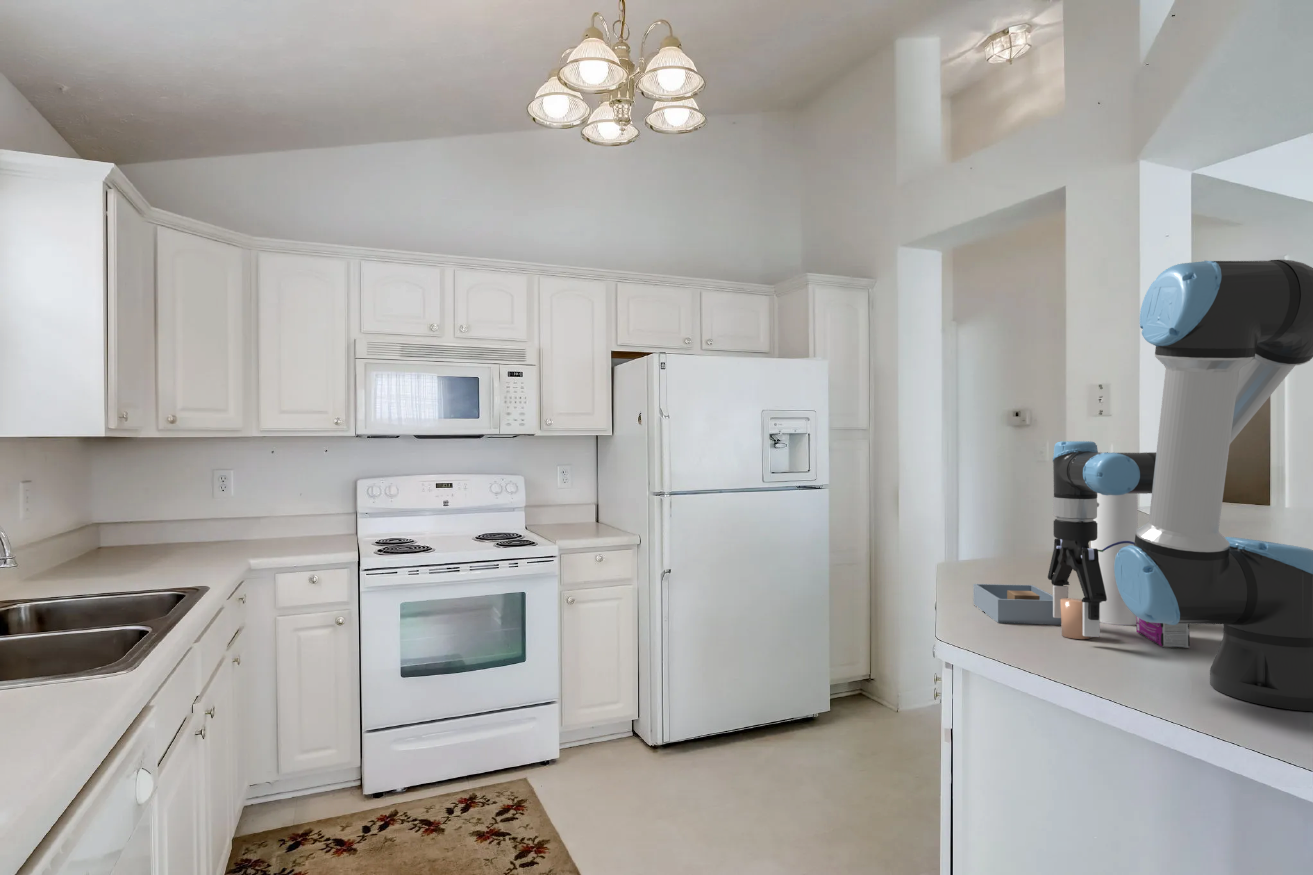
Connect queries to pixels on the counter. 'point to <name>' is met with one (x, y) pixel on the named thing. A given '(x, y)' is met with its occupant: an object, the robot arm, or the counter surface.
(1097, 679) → the counter surface
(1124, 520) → the container
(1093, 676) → the counter surface
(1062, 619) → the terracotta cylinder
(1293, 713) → the counter surface
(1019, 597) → the walnut cube
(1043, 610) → the tote
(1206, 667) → the counter surface
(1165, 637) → the candy bar box
